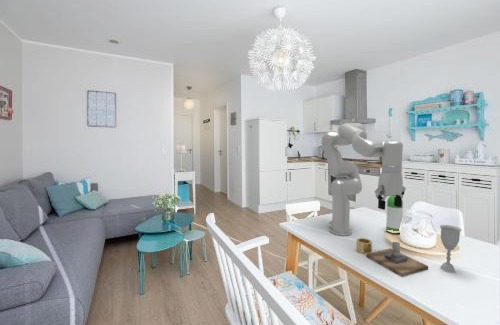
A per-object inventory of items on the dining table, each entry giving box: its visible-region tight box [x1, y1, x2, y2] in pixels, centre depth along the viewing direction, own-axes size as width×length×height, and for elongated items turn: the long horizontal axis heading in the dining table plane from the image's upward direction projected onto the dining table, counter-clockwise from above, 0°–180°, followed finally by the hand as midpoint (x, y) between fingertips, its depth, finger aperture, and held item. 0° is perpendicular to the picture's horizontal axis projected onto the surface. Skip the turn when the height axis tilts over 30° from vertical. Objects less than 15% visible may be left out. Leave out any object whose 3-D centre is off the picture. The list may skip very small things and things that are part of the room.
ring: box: [355, 237, 373, 255], centre depth 120 cm, size 7×7×5 cm
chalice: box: [439, 224, 463, 274], centre depth 101 cm, size 7×7×18 cm
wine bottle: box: [385, 195, 404, 231], centre depth 141 cm, size 8×8×30 cm
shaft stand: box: [365, 241, 429, 277], centre depth 108 cm, size 18×15×9 cm
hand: (389, 207), depth 109 cm, fingers open, 9 cm apart
